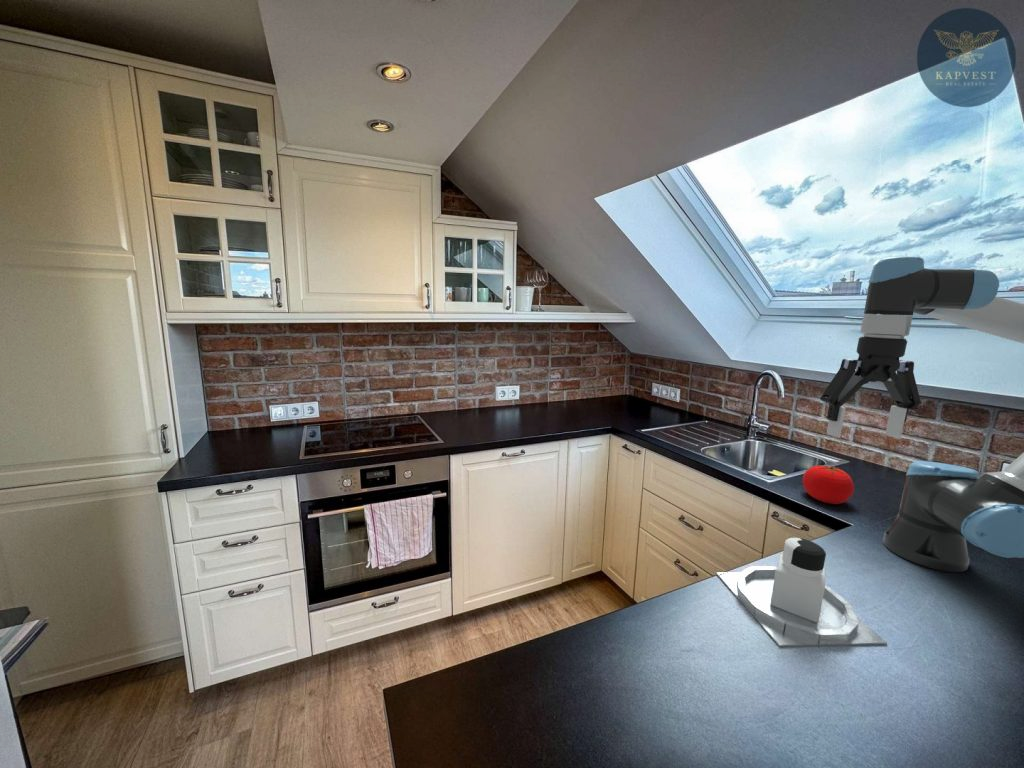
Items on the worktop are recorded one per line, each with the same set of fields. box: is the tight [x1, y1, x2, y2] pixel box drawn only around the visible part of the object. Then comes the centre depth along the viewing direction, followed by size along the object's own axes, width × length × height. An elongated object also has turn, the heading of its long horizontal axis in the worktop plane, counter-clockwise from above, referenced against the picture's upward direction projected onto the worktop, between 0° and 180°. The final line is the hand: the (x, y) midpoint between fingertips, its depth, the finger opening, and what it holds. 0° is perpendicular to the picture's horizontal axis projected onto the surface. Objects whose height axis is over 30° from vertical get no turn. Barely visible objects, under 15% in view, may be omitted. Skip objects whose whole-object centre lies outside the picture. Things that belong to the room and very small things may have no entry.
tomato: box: [802, 464, 855, 505], centre depth 131 cm, size 12×13×11 cm
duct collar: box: [716, 565, 888, 648], centre depth 83 cm, size 20×20×2 cm
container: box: [770, 537, 827, 623], centre depth 82 cm, size 8×8×13 cm
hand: (863, 436), depth 89 cm, fingers open, 13 cm apart
